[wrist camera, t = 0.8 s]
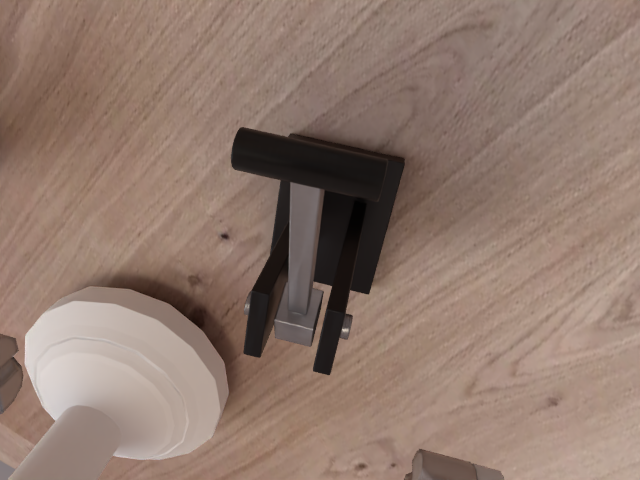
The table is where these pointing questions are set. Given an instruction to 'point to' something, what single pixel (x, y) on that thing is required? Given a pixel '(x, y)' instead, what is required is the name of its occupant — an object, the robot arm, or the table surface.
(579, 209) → the table surface
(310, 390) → the table surface
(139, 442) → the candle holder
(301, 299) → the lever
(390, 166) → the bracket
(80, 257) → the table surface
